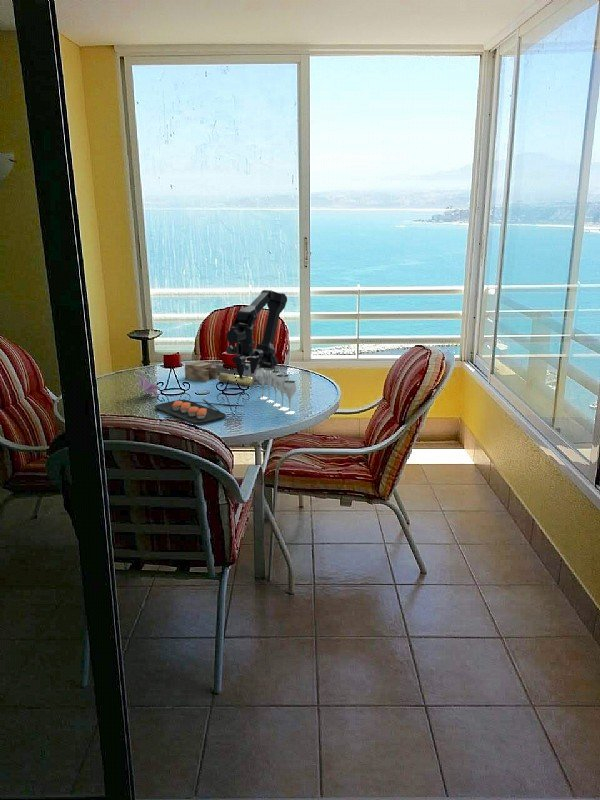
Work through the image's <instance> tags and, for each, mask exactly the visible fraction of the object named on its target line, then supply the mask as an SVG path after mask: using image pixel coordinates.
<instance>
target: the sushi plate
mask: <svg viewBox="0 0 600 800" xmlns="http://www.w3.org/2000/svg"><path fill="white" fill-rule="evenodd" d="M201 399H202V398H201ZM202 401H203V402H200V401H199V402H198V401H191V400H187V399H177V400H171V401H167V402H162V403H159V404H156V405H154V408H155V409H157V410H160V411H161V412H164V413H166V414H169V415H171V416H174V417H176V418H179V419H182V420H183V421H184V420H185V421H187V422H189V423H192V424H204V423H208V422H212V421H216V420H220V419H223V418H225V417H226V416H227V414H226V413H224V412H221V411H220V410H219V409H217V408H216V407H214V406H226V407H244V406H243V405H241V404H229V403H227V404H225V403H211V402H208V401H207V400H206V399H204V398H203V399H202ZM205 402H206V403H205ZM202 404H204V405H202ZM205 405H208V406H210V407H211V408H210V407H208V406H205ZM213 405H214V406H213Z"/></svg>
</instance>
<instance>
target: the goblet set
mask: <svg viewBox="0 0 600 800" xmlns="http://www.w3.org/2000/svg"><path fill="white" fill-rule="evenodd" d="M254 374H255V376H254V377H255V379H256V381H258V382H259V383H260V385H261V395H259V396H257V397H258V398H259V399H258V400H263V401H264V403H267V402H268V404H269V403H270V402H271V404H270V406H271V407H276V410H278V411H283V414H285V415H294V413H295V412H296V411H293V410H291V401H292V398H293V396H294V395H295V393H296V391H297V382H296V381H295V380H290V375H289V374H286V373H281V371H279V370H275V371H273V369H268V368H259V367H258V368H256V370H255V372H254ZM265 384H266V385H267V390H268V391H267V392H268V396H265V395H264V386H265ZM271 386H272V387H273V390H274V395H275V396H274V397H275V398H274V399H275V400H272V399H270V398H269V396H270V392H271V391H270V390H271V389H270V388H271ZM278 391H279V393H280V395H281V403H277V392H278ZM285 395H286V397H287V400H288V407H287V406H284V396H285ZM267 398H268V399H267ZM295 414H296V413H295Z"/></svg>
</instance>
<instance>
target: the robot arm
mask: <svg viewBox="0 0 600 800" xmlns="http://www.w3.org/2000/svg"><path fill="white" fill-rule="evenodd" d="M287 302H288V296H287V295H286V294H285V293H283V292H276V291H274V290H271V289H262V290H261V292H260V294H259V295H258V296H257V297H256V298H255V299H254V300H253V301H252V302H251V303H250V304H249V305H248V306H245V307H243V308H241V309H240V310H238V311H237V313H236V315H235V318H234V321H233V323H232V326H230V328H229V330H228V331H227V333H226V335H225V336H226V341H227V342H228V343H229V344H232V345H227V346H226V349H225V350H226V352H225V353H226V354H228V355H229V354H234V355H238V356H235V357H233V359H232V360H233V362H234V363H236V364H235V365H237V366H238V367H236V369H237V372H238V375H239V378H242V376H243V373H244V369H245V365H246V364H247V363H246V359H248V360H249V364H250V368H251V373H250V375H254V374H255V373H256V370H257V367H258V366H259V367H258V368H268V369H273V371H276V370H275V369H276V367H277V365H279V359H278V357H277V356H276V350H275V346H274V341H275V337H276V332H277V327H278V323H279V319H280V315H281V313H282V312H283V311H284V309H285V308H286V306H287V305H286V304H287ZM266 305H267V308H268V314H267V319H266V325H265V328H264V331H263V337H262V341H261V342H260V343H257V344H256V342H255V341H254V329H256V325H254V324H255V322H256V320H258V314H260V312H261V311H262V309H264V308H265V306H266ZM234 344H236V346H233V345H234ZM254 345H256V348H254Z"/></svg>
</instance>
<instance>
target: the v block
mask: <svg viewBox="0 0 600 800" xmlns="http://www.w3.org/2000/svg"><path fill="white" fill-rule="evenodd" d="M223 364H224V363H218V364H217V363H216V365H215V367H217V375H219V374H220V373H227V374H229V372H230V374H233V373H235V374H236V375H238V372H237V369H234V370H228V369H224V368H223ZM247 375H251V368H250V363H246V365H245V369H244V373H243V376H247Z"/></svg>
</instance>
